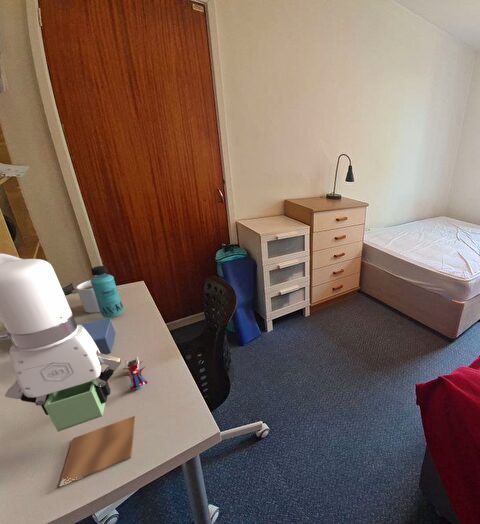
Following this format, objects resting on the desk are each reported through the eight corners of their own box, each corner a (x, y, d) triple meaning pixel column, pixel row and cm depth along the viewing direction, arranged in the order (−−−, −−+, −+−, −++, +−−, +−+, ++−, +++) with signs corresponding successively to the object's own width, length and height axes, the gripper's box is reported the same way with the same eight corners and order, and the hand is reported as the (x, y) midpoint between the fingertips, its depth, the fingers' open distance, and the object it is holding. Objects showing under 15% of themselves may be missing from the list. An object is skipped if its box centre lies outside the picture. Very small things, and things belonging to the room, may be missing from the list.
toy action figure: (129, 398, 71) (122, 382, 69) (123, 371, 79) (117, 356, 77) (152, 388, 75) (147, 372, 72) (144, 363, 83) (140, 348, 80)
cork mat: (59, 488, 53) (58, 487, 53) (73, 439, 61) (73, 438, 61) (131, 457, 58) (130, 456, 58) (135, 416, 67) (134, 415, 67)
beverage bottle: (98, 319, 102) (80, 269, 94) (118, 310, 108) (101, 262, 100) (111, 323, 100) (93, 272, 92) (130, 313, 106) (114, 265, 98)
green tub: (57, 431, 51) (43, 406, 49) (67, 406, 56) (54, 381, 54) (102, 416, 54) (91, 391, 52) (107, 393, 59) (97, 369, 57)
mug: (82, 307, 108) (73, 284, 105) (112, 298, 116) (105, 276, 112) (90, 317, 103) (81, 293, 99) (121, 307, 110) (114, 284, 106)
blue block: (61, 366, 80) (53, 349, 78) (71, 343, 89) (64, 327, 87) (111, 353, 86) (105, 336, 84) (116, 333, 95) (110, 317, 93)
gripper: (-45, 361, 41) (9, 444, 48) (107, 326, 49) (134, 400, 56) (-19, 333, 47) (26, 410, 53) (113, 307, 55) (137, 376, 62)
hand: (81, 405), depth 55 cm, fingers closed on green tub, 6 cm apart
